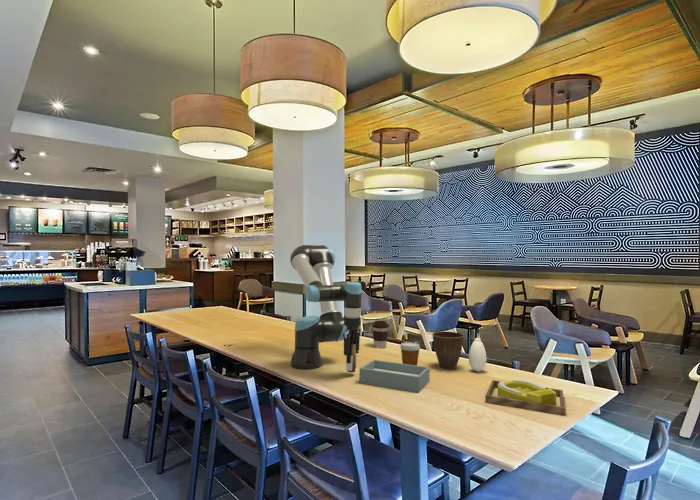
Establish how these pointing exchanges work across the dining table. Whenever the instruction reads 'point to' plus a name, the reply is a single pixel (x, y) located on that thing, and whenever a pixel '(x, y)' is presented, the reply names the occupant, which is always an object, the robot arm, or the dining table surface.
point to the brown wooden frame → (525, 404)
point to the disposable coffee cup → (410, 353)
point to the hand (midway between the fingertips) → (351, 368)
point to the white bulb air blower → (477, 355)
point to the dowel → (353, 358)
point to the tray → (395, 375)
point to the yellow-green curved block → (526, 392)
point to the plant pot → (448, 348)
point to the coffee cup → (380, 333)
